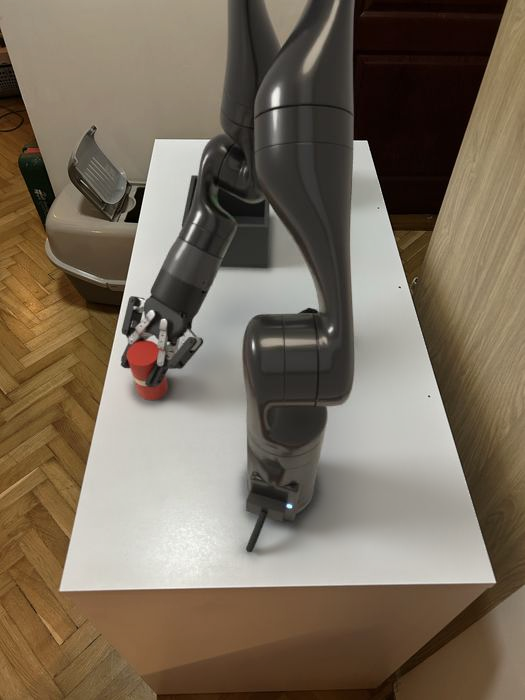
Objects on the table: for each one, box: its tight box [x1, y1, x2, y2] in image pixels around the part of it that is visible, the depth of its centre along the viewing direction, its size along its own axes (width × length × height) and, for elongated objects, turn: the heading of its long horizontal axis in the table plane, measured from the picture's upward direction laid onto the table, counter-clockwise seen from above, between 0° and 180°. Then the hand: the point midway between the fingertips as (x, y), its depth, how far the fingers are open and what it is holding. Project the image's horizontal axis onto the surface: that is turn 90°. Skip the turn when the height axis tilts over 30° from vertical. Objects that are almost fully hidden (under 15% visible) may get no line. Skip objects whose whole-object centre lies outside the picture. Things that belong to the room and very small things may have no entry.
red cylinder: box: [127, 339, 169, 401], centre depth 81 cm, size 5×5×9 cm
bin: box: [181, 174, 271, 269], centre depth 104 cm, size 16×16×10 cm
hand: (138, 376), depth 80 cm, fingers closed on red cylinder, 4 cm apart
